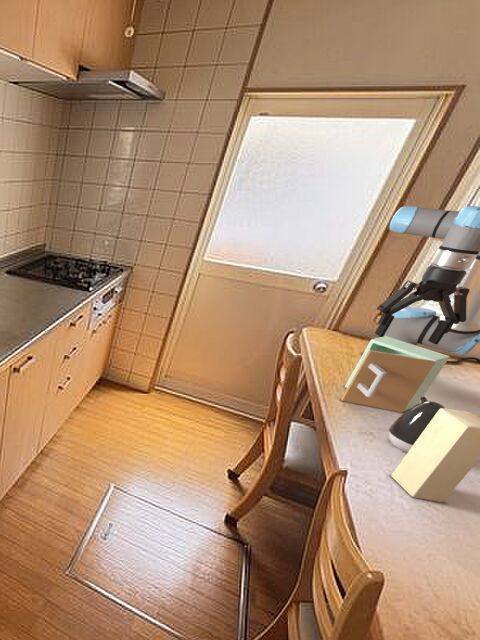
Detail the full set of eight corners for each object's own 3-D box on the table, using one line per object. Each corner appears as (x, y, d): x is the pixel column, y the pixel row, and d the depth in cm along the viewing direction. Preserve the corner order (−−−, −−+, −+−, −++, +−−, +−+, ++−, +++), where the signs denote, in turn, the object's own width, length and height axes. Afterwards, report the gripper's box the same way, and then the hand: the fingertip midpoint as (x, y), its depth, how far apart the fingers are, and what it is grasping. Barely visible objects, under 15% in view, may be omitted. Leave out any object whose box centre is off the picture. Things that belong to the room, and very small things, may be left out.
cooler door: (415, 423, 132) (450, 371, 123) (351, 410, 136) (381, 359, 127) (401, 411, 138) (434, 360, 130) (341, 399, 143) (368, 349, 134)
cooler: (402, 411, 138) (436, 360, 130) (344, 387, 152) (371, 339, 143) (416, 406, 142) (450, 356, 134) (358, 382, 156) (385, 335, 147)
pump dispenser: (416, 441, 122) (447, 397, 115) (439, 463, 114) (474, 417, 107) (375, 433, 125) (402, 389, 118) (393, 453, 116) (425, 407, 109)
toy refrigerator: (447, 504, 99) (506, 432, 90) (412, 498, 100) (467, 426, 91) (422, 481, 106) (474, 412, 97) (390, 475, 107) (438, 407, 98)
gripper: (403, 264, 113) (364, 337, 123) (516, 276, 108) (465, 350, 118) (386, 258, 119) (350, 328, 129) (492, 269, 114) (446, 340, 124)
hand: (405, 339), depth 123 cm, fingers open, 13 cm apart
